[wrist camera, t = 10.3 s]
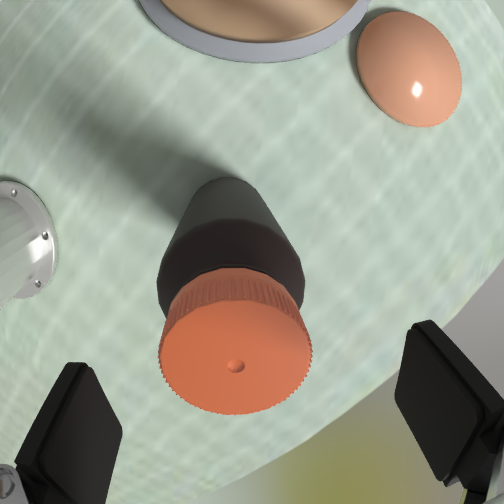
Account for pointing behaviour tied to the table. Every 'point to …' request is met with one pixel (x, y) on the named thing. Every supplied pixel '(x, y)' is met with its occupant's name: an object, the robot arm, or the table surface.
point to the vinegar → (232, 304)
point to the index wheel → (259, 17)
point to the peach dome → (409, 69)
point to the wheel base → (253, 50)
